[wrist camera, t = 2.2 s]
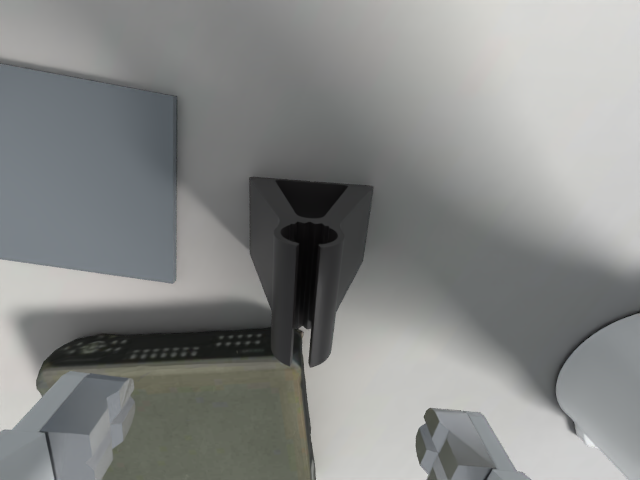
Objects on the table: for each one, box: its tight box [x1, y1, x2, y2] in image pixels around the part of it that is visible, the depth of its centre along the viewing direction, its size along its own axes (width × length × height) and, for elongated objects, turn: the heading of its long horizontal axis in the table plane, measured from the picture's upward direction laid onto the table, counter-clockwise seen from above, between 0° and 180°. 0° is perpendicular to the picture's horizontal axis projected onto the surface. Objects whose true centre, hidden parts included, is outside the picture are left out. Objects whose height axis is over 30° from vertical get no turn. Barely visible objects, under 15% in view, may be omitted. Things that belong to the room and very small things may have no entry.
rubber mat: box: [0, 63, 177, 284], centre depth 23 cm, size 16×14×1 cm
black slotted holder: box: [249, 177, 373, 367], centre depth 19 cm, size 9×6×12 cm, turn 85°
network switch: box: [36, 328, 316, 480], centre depth 30 cm, size 23×24×5 cm
